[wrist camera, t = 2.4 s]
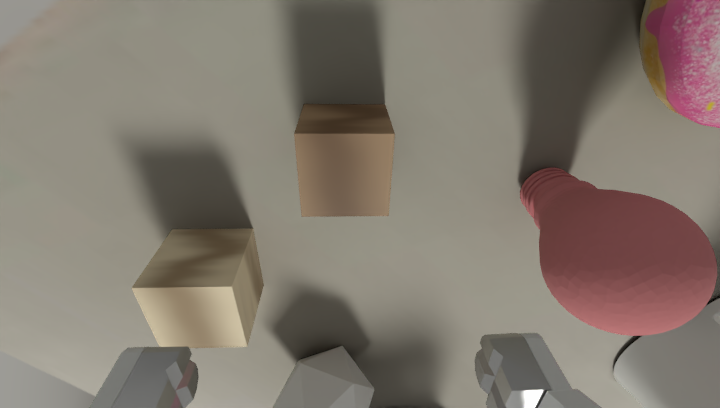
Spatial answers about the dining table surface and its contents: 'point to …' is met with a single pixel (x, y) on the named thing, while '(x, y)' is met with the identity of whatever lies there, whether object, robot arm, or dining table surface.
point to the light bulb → (619, 255)
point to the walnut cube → (344, 159)
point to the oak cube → (202, 288)
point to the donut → (683, 56)
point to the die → (326, 383)
